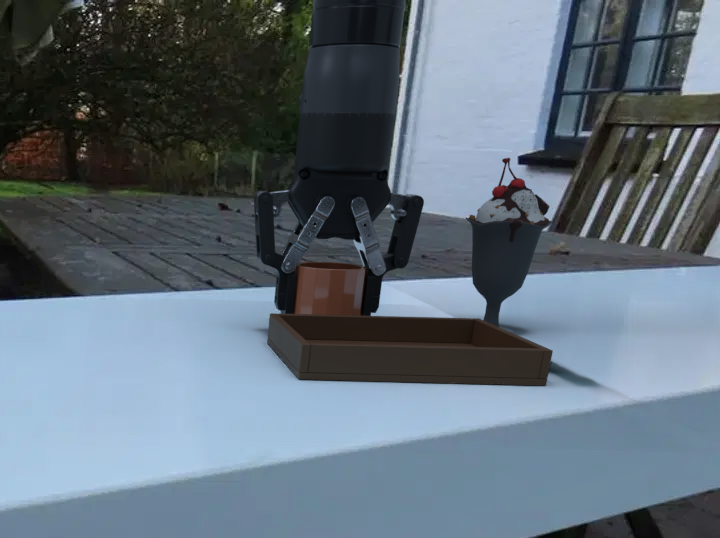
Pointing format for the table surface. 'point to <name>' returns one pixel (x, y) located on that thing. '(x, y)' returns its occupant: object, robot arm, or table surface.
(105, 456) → the table surface
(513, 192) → the sundae
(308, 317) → the tray
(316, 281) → the terracotta flower pot
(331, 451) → the table surface
